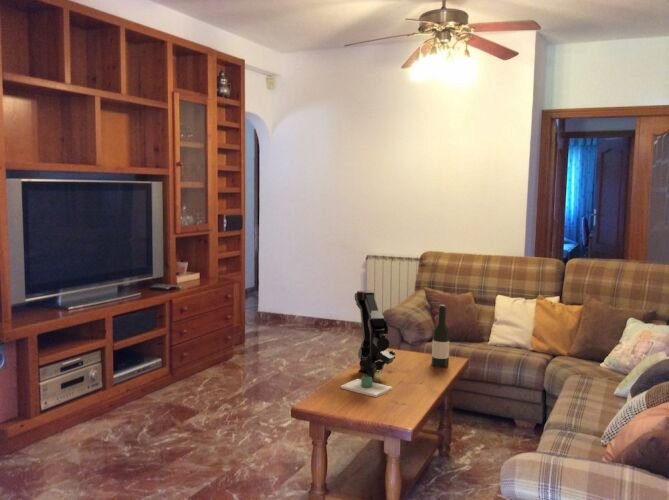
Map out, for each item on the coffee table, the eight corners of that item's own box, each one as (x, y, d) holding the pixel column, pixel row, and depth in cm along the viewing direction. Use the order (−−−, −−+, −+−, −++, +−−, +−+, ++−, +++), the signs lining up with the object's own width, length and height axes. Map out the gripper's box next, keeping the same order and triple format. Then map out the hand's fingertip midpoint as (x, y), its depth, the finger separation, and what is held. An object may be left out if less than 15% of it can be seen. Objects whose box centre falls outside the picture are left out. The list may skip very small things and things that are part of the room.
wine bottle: (449, 363, 307) (452, 304, 304) (447, 368, 300) (449, 307, 296) (433, 361, 310) (435, 302, 307) (430, 366, 302) (432, 305, 299)
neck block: (340, 388, 267) (341, 376, 267) (357, 380, 278) (357, 369, 277) (376, 397, 257) (376, 385, 256) (392, 389, 267) (392, 378, 267)
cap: (367, 380, 278) (367, 369, 277) (373, 377, 282) (373, 367, 282) (377, 383, 275) (377, 372, 274) (383, 380, 279) (383, 369, 279)
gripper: (380, 352, 265) (379, 387, 266) (402, 343, 280) (401, 376, 281) (359, 347, 271) (358, 381, 273) (381, 339, 286) (380, 371, 288)
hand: (375, 378), depth 279 cm, fingers closed on cap, 5 cm apart
